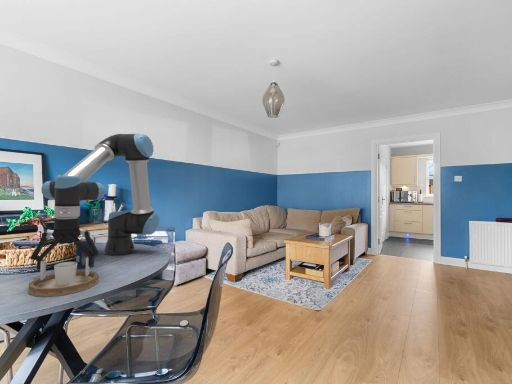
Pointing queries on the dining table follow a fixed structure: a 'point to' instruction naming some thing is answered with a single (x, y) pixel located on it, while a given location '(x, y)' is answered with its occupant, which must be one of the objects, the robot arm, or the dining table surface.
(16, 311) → the dining table surface
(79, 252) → the dark blue box
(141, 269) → the dining table surface
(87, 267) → the robot arm
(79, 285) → the round tray
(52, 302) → the dining table surface
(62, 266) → the shot glass
